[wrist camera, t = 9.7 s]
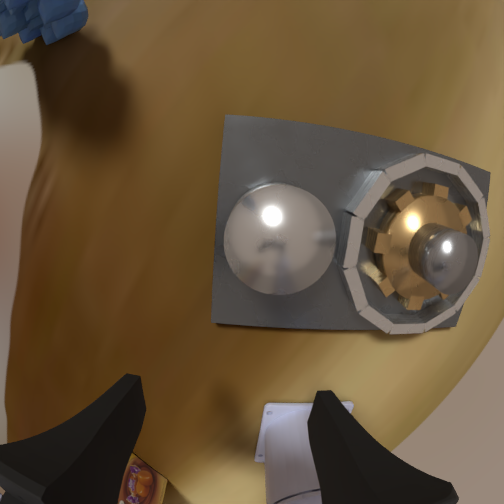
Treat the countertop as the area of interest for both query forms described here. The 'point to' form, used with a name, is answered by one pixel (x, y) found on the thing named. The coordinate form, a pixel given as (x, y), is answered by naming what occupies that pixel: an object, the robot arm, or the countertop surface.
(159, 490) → the candy box
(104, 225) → the countertop surface
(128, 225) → the countertop surface
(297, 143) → the gear carrier
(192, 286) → the countertop surface
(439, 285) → the planet gear
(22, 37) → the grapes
